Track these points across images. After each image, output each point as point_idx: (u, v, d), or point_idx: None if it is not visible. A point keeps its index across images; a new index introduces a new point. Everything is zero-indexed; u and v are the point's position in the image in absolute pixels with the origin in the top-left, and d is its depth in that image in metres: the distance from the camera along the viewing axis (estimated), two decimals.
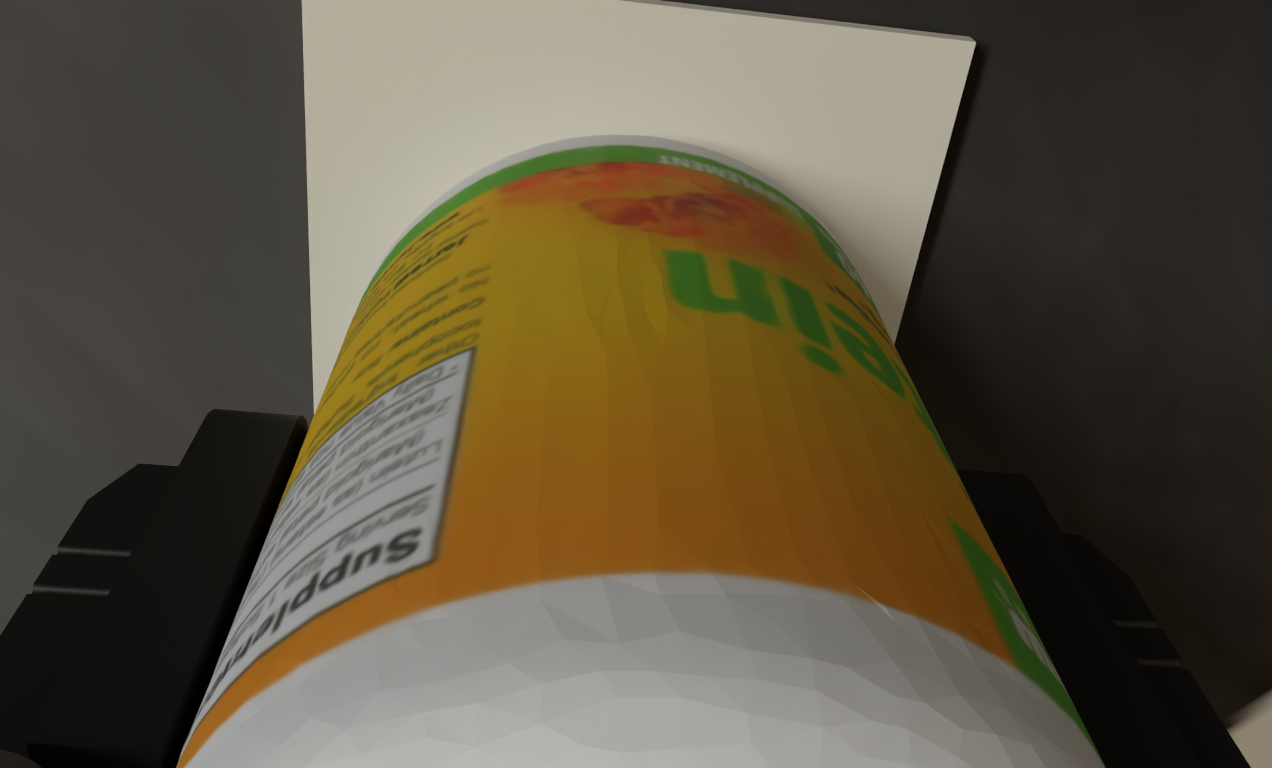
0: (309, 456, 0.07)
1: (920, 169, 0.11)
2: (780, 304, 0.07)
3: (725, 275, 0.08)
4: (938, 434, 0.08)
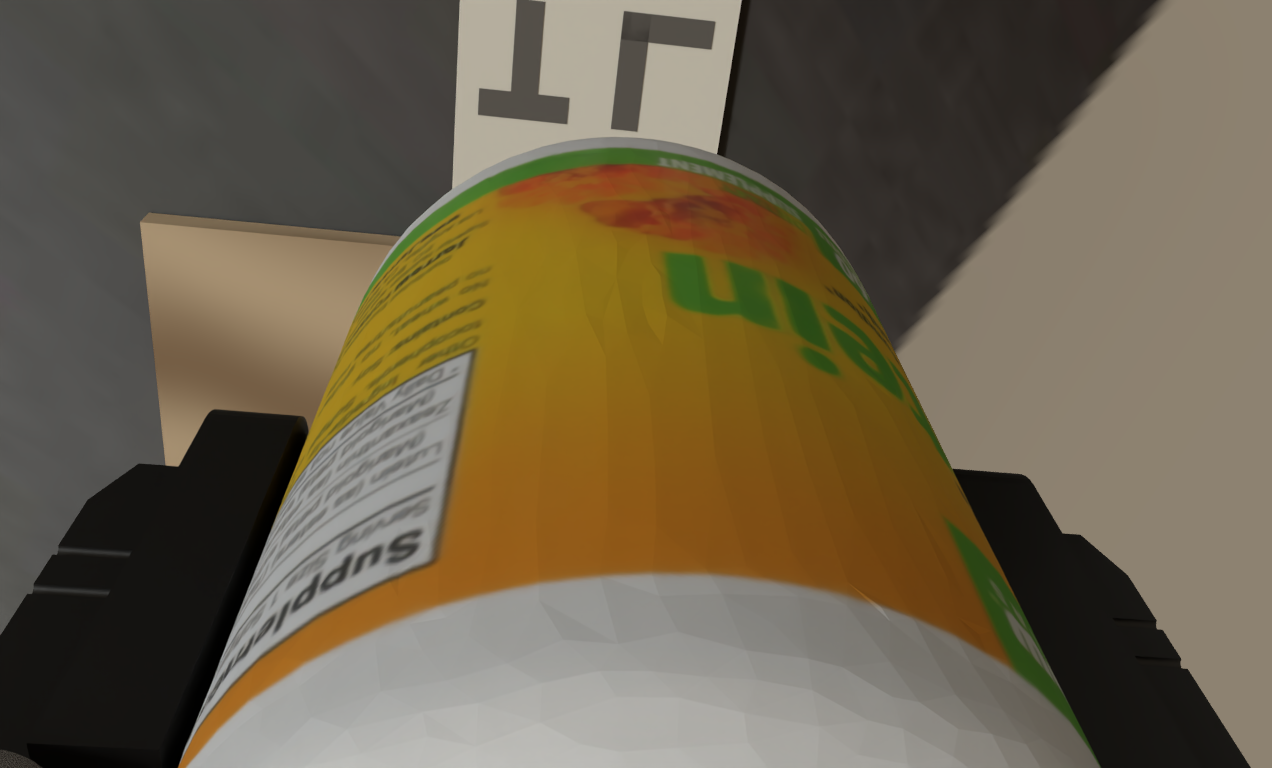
0: (310, 457, 0.07)
1: None
2: (779, 308, 0.07)
3: (723, 276, 0.08)
4: None
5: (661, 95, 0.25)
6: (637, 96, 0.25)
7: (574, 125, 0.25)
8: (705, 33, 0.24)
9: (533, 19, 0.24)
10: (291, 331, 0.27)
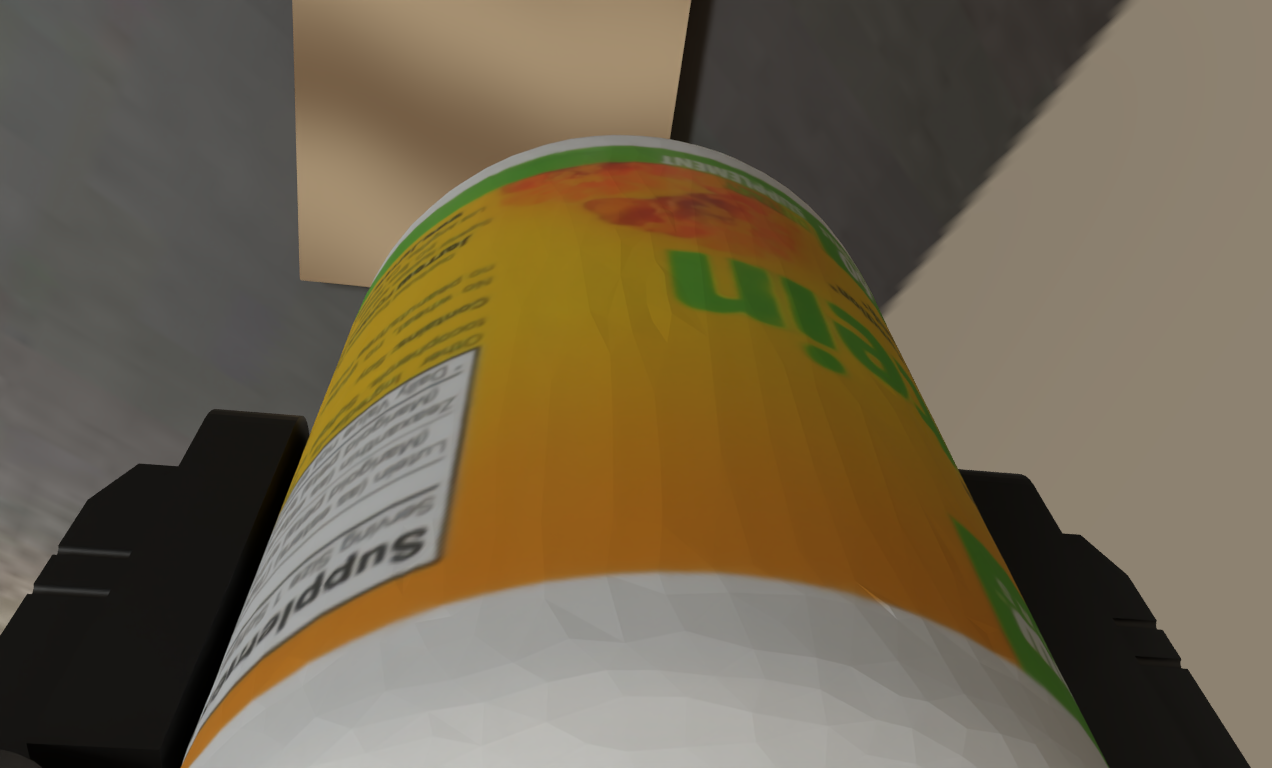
0: (313, 456, 0.07)
1: None
2: (783, 306, 0.07)
3: (726, 275, 0.08)
4: (940, 434, 0.08)
5: None
6: None
7: None
8: None
9: None
10: (438, 45, 0.26)
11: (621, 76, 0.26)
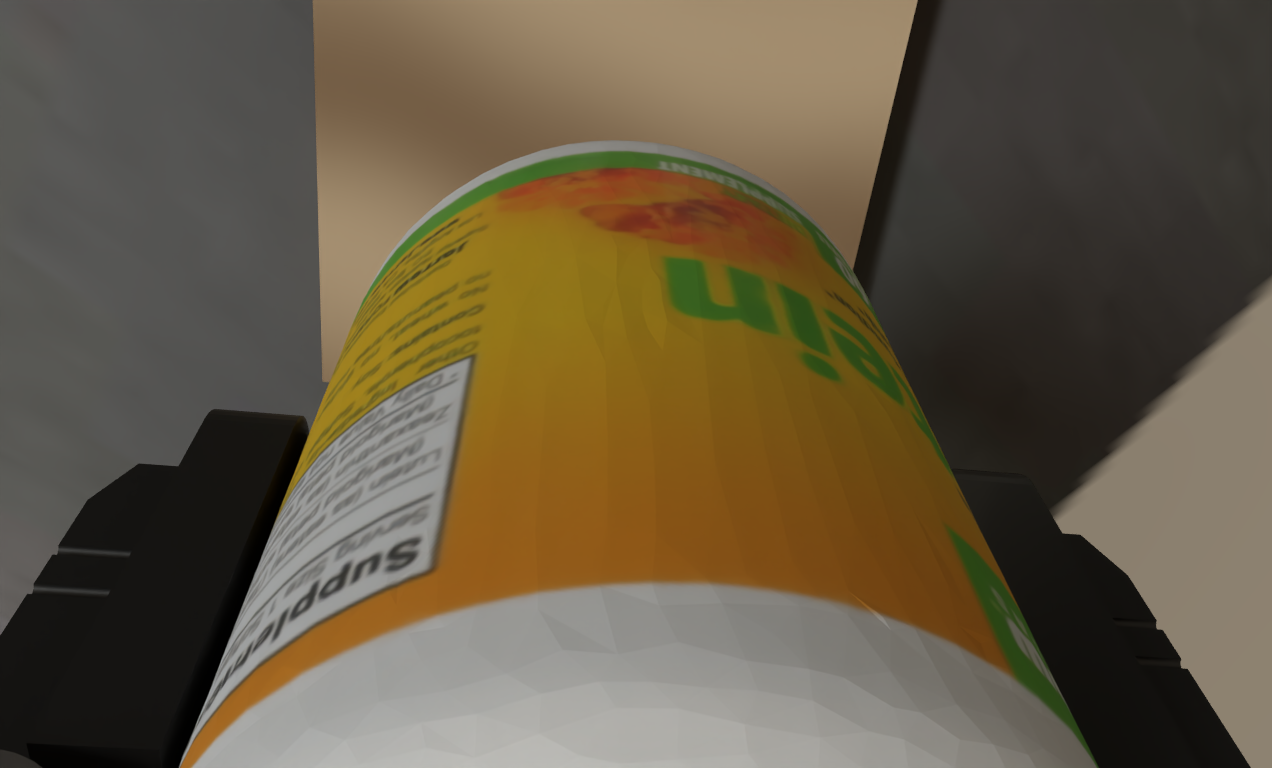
0: (309, 463, 0.07)
1: None
2: (778, 312, 0.07)
3: (722, 283, 0.08)
4: (936, 440, 0.08)
5: None
6: None
7: None
8: None
9: None
10: (535, 32, 0.17)
11: (812, 77, 0.17)
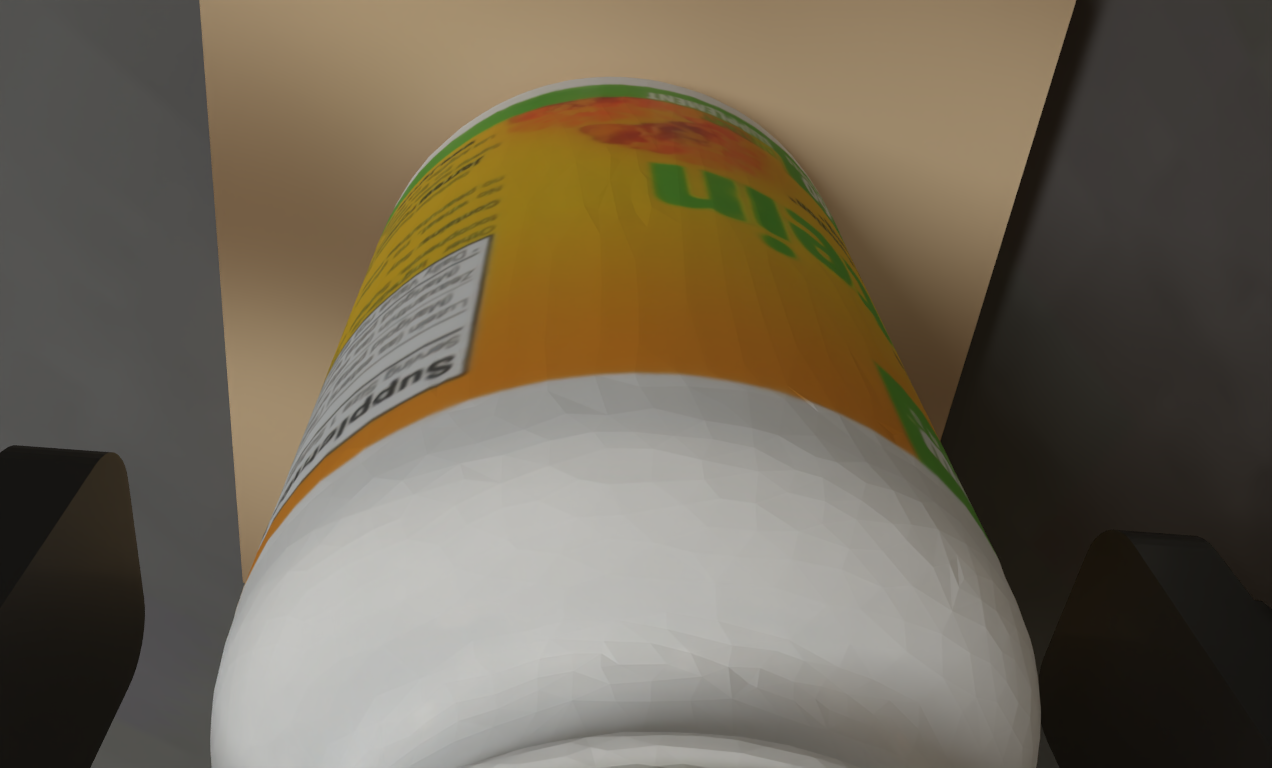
0: (352, 331, 0.09)
1: None
2: (745, 205, 0.09)
3: (699, 181, 0.09)
4: (882, 322, 0.10)
5: None
6: None
7: None
8: None
9: None
10: None
11: (895, 205, 0.13)
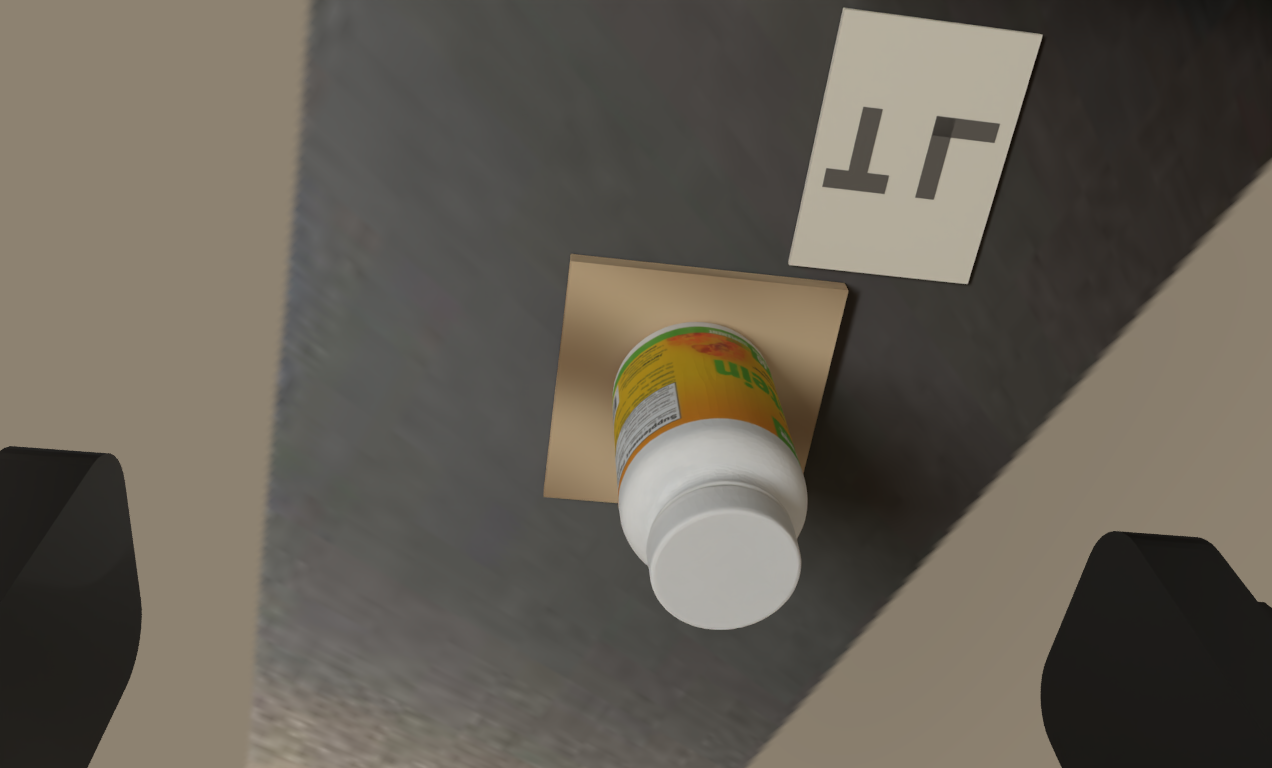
0: (634, 406, 0.33)
1: (1023, 76, 0.33)
2: (740, 372, 0.33)
3: (727, 365, 0.33)
4: (779, 403, 0.34)
5: (954, 174, 0.35)
6: (937, 174, 0.35)
7: (889, 194, 0.35)
8: (992, 131, 0.34)
9: (873, 121, 0.34)
10: None
11: (790, 360, 0.37)
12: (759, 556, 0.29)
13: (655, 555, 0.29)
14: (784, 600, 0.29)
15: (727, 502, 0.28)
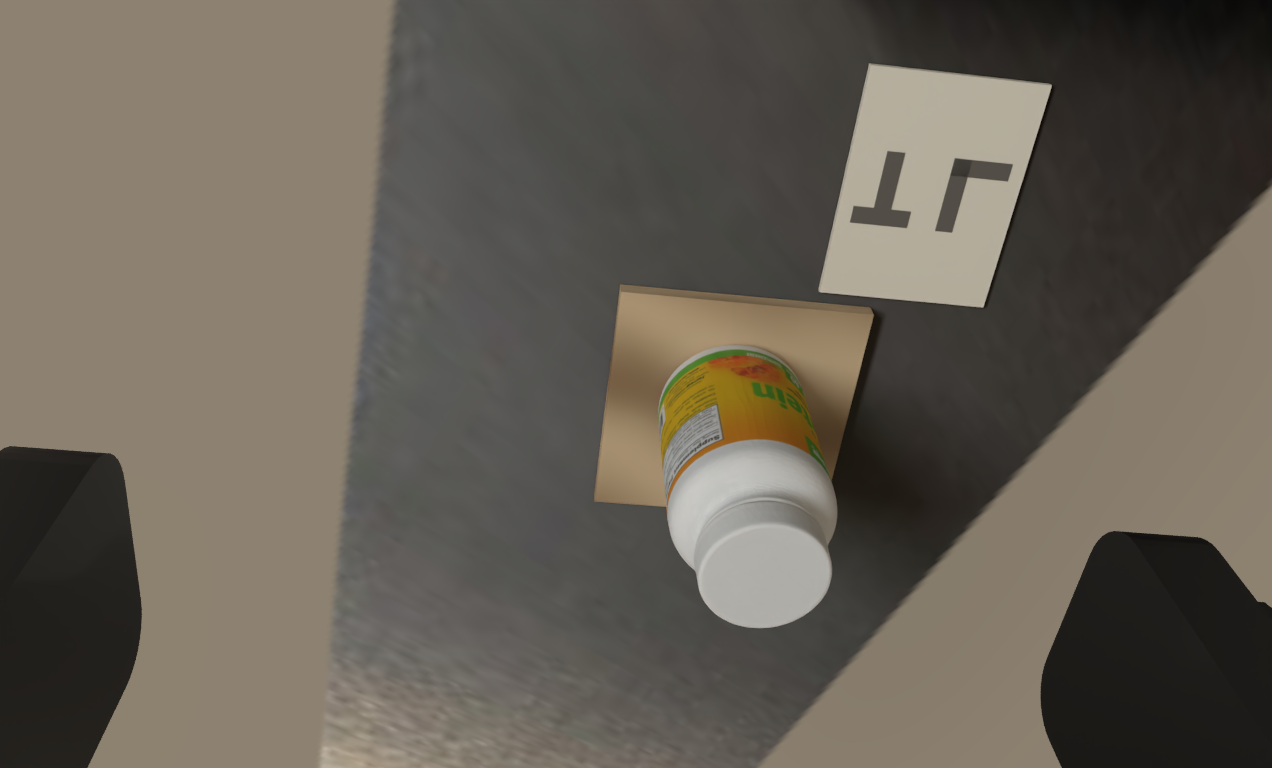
0: (680, 425, 0.37)
1: (1034, 122, 0.36)
2: (775, 394, 0.37)
3: (764, 388, 0.37)
4: (810, 421, 0.37)
5: (971, 209, 0.38)
6: (955, 210, 0.38)
7: (911, 228, 0.38)
8: (1005, 171, 0.37)
9: (896, 163, 0.37)
10: None
11: (820, 377, 0.40)
12: (795, 564, 0.32)
13: (702, 564, 0.32)
14: (817, 602, 0.33)
15: (766, 517, 0.32)
